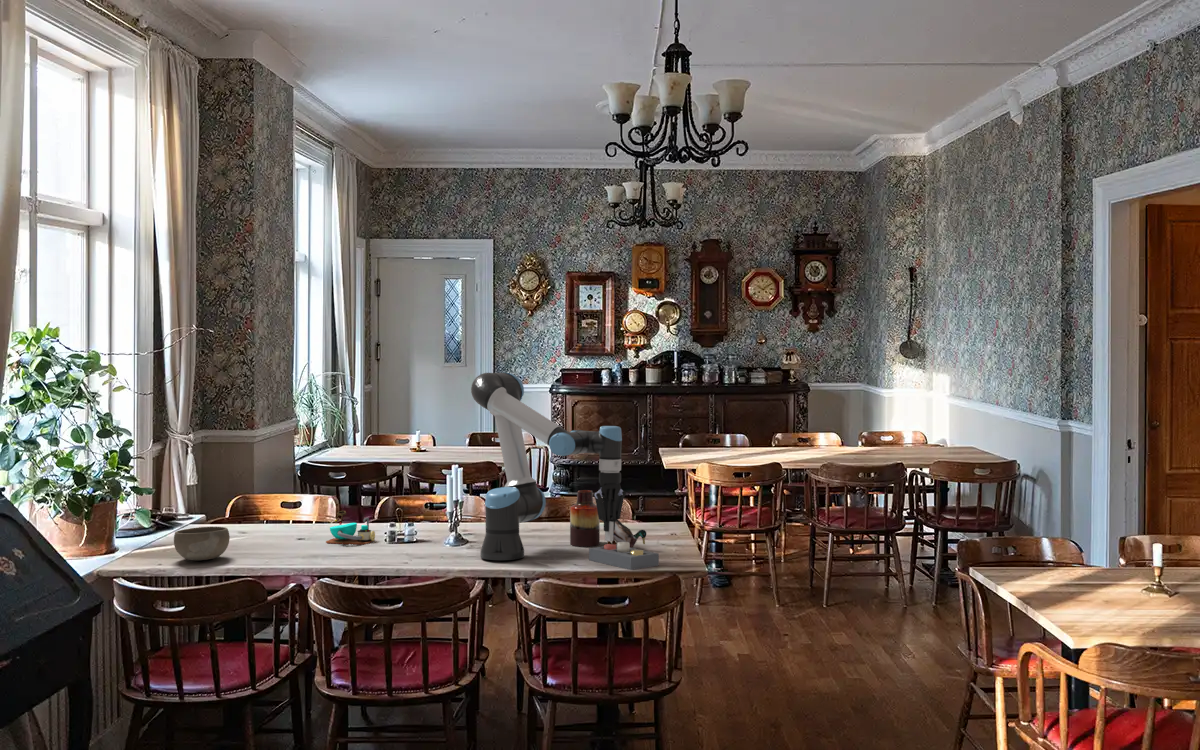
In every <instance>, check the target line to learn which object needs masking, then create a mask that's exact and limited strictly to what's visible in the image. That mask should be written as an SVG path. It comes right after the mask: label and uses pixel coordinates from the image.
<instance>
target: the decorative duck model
mask: <svg viewBox="0 0 1200 750" xmlns="http://www.w3.org/2000/svg"><path fill="white" fill-rule="evenodd" d="M646 537H647V530H645V529H639V530H638V531H637V532H636V533H635V534H634V533H633V532H632V530H631V529H630V528H629V527H627V526H626V525H624V524H623V523H622V522H621V521H620V519H617V522H615V530H614V531H613V541H607V544H615V545H617V542H629V543H630V548H634V546H635V544H636V543H637V541H638V539H639V538H641V539H642V544H643V545H646Z"/></svg>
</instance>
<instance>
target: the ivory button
mask: <svg viewBox="0 0 1200 750" xmlns="http://www.w3.org/2000/svg"><path fill="white" fill-rule="evenodd" d="M616 543H617V544H616V545H617V552H621V553H625V552H630V543H629V542H616Z"/></svg>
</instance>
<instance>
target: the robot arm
mask: <svg viewBox="0 0 1200 750" xmlns="http://www.w3.org/2000/svg"><path fill="white" fill-rule="evenodd" d="M470 391H471V392H470V393H471V395H472V399H473V400H474V401H475V402H476V403H477V404H478V405H479V406H481V407H483V408H484V409H485V410H487V411H488V412H489V414H491V415H493V416H494V419H495V424H496V430H497V436H498V439H499V446H500V451H501V454H502V455H501V456H502V461H503V466H504V470H505V476H506V477H505V478H506V483H505V484H504V486H501V487H496V488H492V489H490V490H489V491H487V493H486V494H485V502H484V505H485V536H484V539H483V542H482V545H481V548H480V558H481V559H483V560H487V561H489V560H490V561H511V560H512V561H513V560H519V559H522V558H524V557H525V548H524V544H523V542H522V539H521V535H520V523H525V522H531V521H534V520H535V519H538V518H539V517H540V516H542V514H543V513H544V511H545V508H546V502H547V501H546V496H545V493H544V491H542V490H541V489H540V488H538V484H537V480H536V479H535V478H533V477H532V476H531V475H532V474H531V471H530V467H529V461H528V456H527V455H528V454H527V450H526V446H525V440H524V436H523V431H525V432H527V433H528V434H530V435H531V436H533V437H535V439H538V440H539V441H541V442H543V443H544V444H546V445H547V446H548V447H549V449H550V451H551V453H552V454H554V455H556V456H561V457H565V456H570V455H576V454H577V455H579V454H586V453H587V454H598V455H599V460H598V461H599V463H598V471H599V473H598V483H599V487H598V491H596V492H592V494H593V499H595V505H597V511H598V517H599V520H600V521H601V522H603V532H604V541H605V542H606V541H607V542H608V541H610V542H612V541H613V531H614V530H615V522H617V519H618V520H620V519H621V514H622V509H623V505H624V499H625V497H626V494H627V491H626V490H623V489H622V487H621V482H622V473H621V472H620V471H622V441H623V437H622V428H621V427H620V426H616V425H602V426H600V427H599V430H598V431H597V430H596V431H594V430H593V431H592V430H591V431H589V430H581V429H577V430H571V431H568V430H567V429H565V428H563V427H561V426H560V425H558V423H556V422H554V421H552V420H550V419H549V418H547V417H546V416H544V415H542V414H541V413H539V412H538V411H536V410H534V409H533V408H531V407H530V406H528V405H527V404H525V403H524V402H522V399H523V396H524V395H525V394H524V393H525V389H524V384H523V382H522V380H521V379H520V378H519V377H518V376H517V375H515V374H513V373H510V372H505V371H503V372H484V373H480V374H479V375H477V376H476V377H475V378H474V379H473V381H472V383H471V387H470Z"/></svg>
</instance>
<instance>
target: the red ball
mask: <svg viewBox="0 0 1200 750" xmlns="http://www.w3.org/2000/svg"><path fill="white" fill-rule="evenodd" d="M616 545H617V544H616ZM616 545H615V544H612V543H611V544H608V543H605V544H604V545H603V546H604V549H607V550H613V549H616Z"/></svg>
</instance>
